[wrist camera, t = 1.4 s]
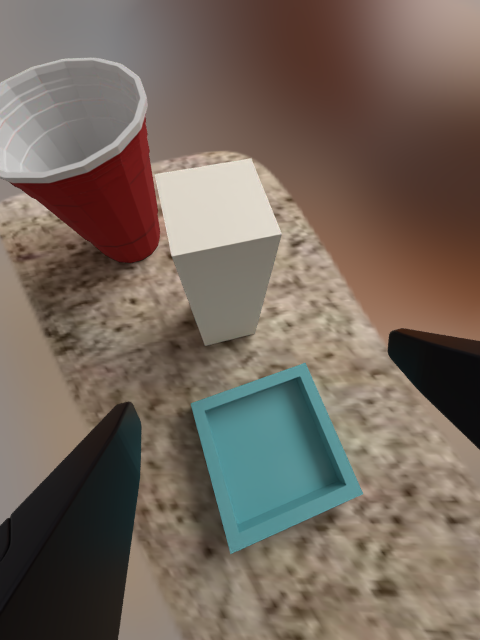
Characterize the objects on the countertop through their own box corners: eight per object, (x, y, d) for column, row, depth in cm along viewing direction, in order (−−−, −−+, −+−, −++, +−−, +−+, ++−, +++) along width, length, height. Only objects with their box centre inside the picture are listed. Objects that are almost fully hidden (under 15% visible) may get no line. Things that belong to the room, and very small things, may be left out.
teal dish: (350, 486, 18) (363, 493, 17) (230, 539, 17) (230, 554, 15) (298, 367, 22) (305, 362, 20) (194, 404, 20) (190, 403, 18)
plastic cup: (78, 203, 27) (-30, 53, 16) (180, 195, 28) (145, 46, 17) (67, 293, 23) (-83, 178, 12) (186, 280, 24) (147, 162, 13)
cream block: (254, 333, 23) (281, 233, 10) (204, 346, 22) (171, 256, 10) (241, 289, 24) (251, 158, 12) (194, 300, 24) (154, 174, 11)
